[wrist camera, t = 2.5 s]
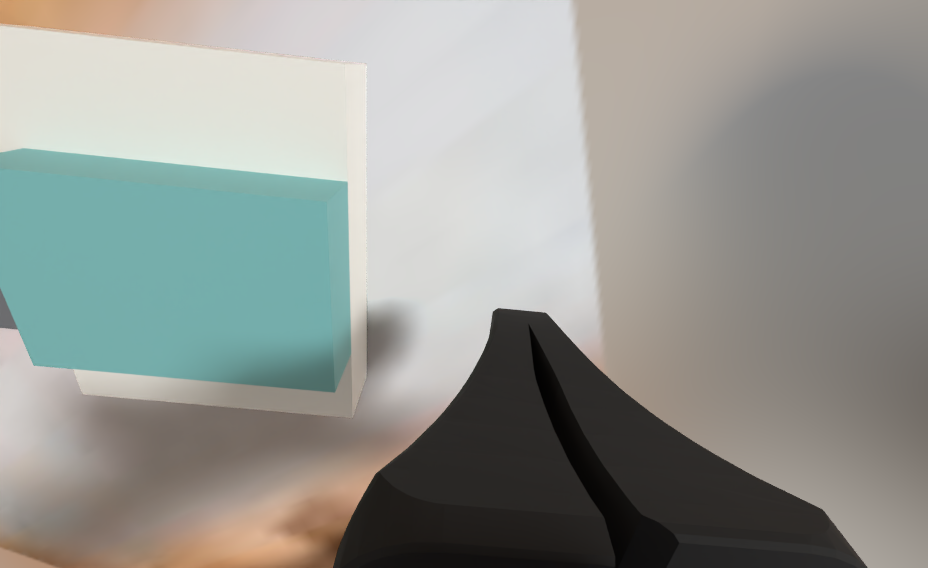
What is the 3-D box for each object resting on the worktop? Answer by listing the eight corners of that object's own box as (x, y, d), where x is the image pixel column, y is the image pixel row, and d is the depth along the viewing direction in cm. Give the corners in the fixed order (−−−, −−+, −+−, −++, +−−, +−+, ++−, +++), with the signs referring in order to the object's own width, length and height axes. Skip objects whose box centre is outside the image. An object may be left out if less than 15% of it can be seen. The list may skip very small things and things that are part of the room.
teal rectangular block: (351, 353, 15) (334, 392, 13) (86, 328, 15) (33, 365, 13) (347, 181, 12) (326, 201, 11) (23, 148, 12) (-54, 162, 10)
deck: (367, 375, 19) (352, 418, 17) (129, 354, 18) (82, 394, 16) (366, 63, 13) (345, 64, 11) (29, 26, 13) (-62, 19, 11)
